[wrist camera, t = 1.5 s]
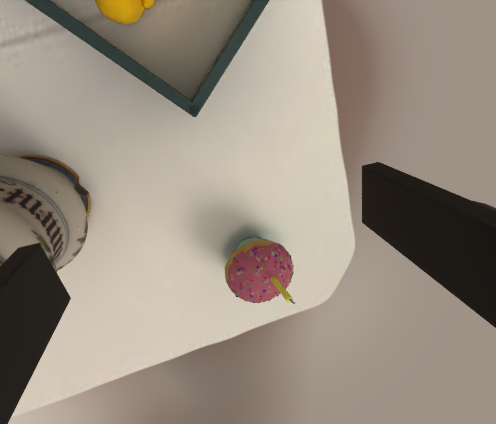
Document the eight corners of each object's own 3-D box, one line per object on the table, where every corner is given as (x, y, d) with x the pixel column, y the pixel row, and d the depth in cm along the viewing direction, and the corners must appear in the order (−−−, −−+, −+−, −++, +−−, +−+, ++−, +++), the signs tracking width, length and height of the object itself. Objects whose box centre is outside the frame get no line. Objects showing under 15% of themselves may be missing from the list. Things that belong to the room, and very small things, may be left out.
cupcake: (261, 213, 39) (292, 264, 28) (292, 255, 43) (330, 315, 32) (208, 250, 40) (218, 314, 29) (244, 289, 43) (264, 358, 32)
